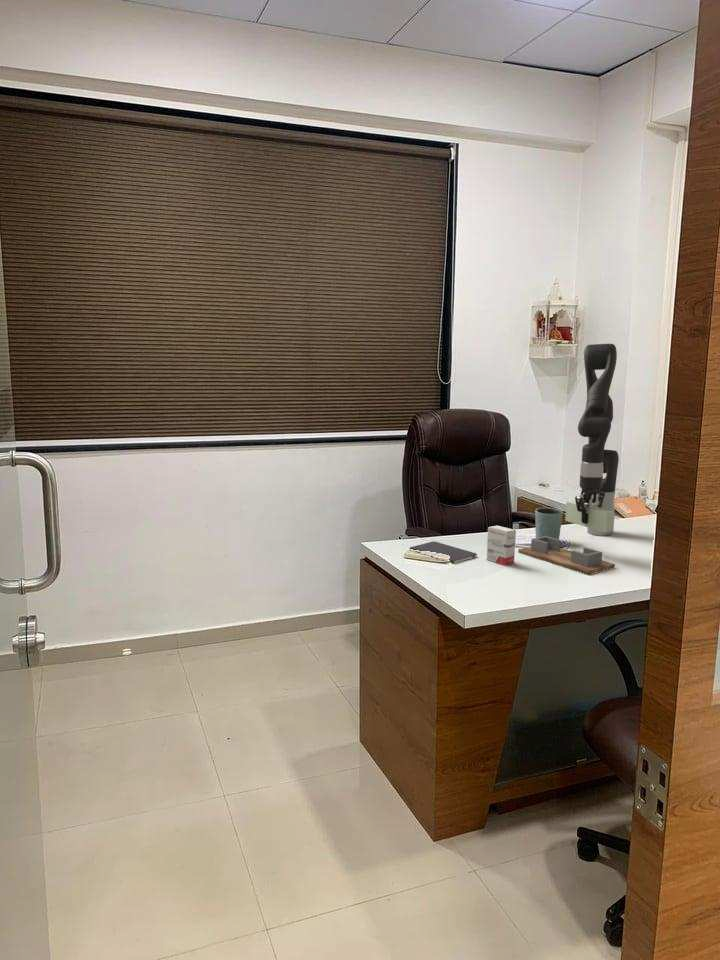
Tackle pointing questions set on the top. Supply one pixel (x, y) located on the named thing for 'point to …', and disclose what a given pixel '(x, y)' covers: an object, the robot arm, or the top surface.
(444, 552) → the notebook
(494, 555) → the ink box
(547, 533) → the grey green cup
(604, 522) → the pale green block
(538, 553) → the mounting board
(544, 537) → the end cap
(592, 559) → the end cap
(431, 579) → the top surface
